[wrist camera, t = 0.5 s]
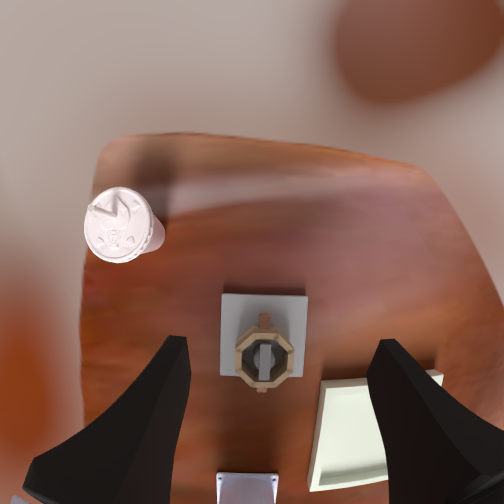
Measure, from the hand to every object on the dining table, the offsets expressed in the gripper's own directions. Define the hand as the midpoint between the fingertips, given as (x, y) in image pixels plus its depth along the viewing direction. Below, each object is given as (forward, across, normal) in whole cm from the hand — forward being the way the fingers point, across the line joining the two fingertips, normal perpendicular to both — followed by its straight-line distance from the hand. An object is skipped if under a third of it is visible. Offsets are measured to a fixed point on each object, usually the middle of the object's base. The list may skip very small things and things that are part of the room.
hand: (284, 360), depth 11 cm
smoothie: (+22, +13, +6) cm, 26 cm away
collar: (+15, 0, +16) cm, 22 cm away
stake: (+17, 0, +15) cm, 23 cm away
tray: (+10, -15, +26) cm, 32 cm away
